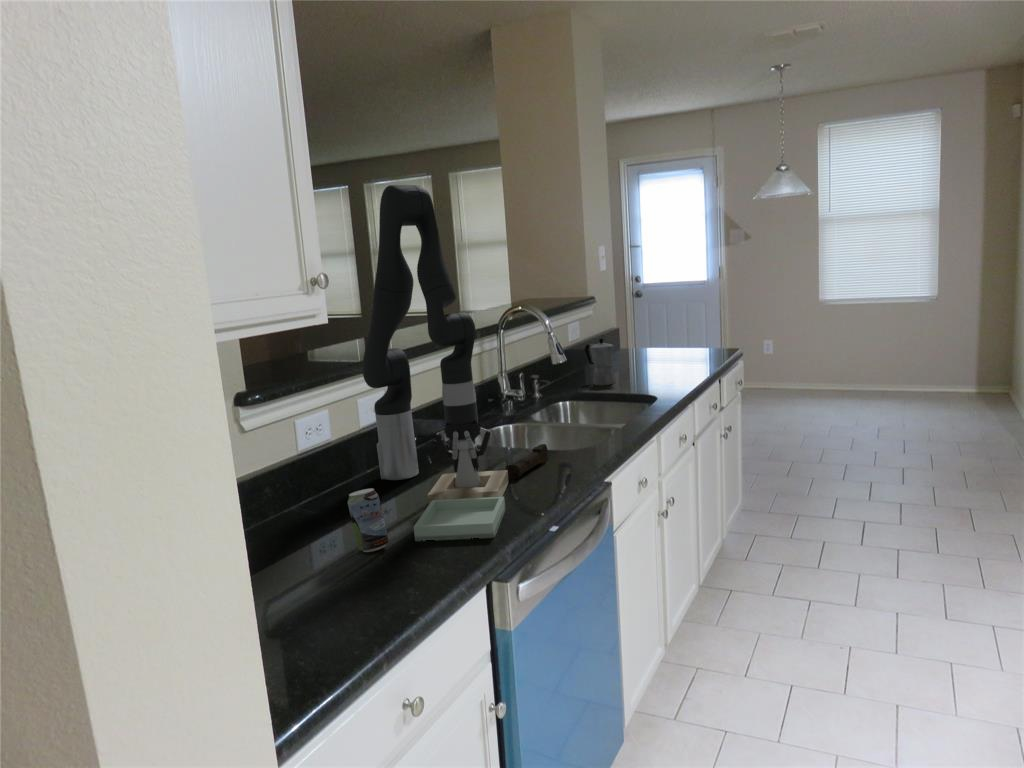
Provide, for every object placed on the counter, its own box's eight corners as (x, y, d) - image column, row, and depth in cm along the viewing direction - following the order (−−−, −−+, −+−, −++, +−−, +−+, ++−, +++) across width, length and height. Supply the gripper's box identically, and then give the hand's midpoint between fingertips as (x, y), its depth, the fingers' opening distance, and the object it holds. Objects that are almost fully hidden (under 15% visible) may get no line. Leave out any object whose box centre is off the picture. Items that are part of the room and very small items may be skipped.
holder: (429, 507, 172) (427, 494, 171) (444, 485, 187) (443, 473, 187) (499, 504, 170) (497, 491, 169) (508, 481, 185) (507, 470, 185)
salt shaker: (462, 498, 175) (456, 443, 172) (452, 491, 180) (446, 438, 177) (485, 492, 177) (480, 438, 175) (475, 486, 182) (469, 433, 180)
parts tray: (415, 541, 152) (413, 527, 152) (433, 513, 168) (432, 500, 167) (494, 537, 150) (492, 523, 149) (505, 509, 165) (504, 496, 165)
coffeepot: (625, 382, 301) (621, 336, 298) (610, 386, 294) (606, 340, 291) (595, 380, 312) (591, 336, 309) (579, 384, 305) (576, 339, 302)
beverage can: (375, 557, 146) (367, 497, 144) (347, 552, 150) (338, 494, 148) (396, 545, 151) (389, 487, 149) (369, 541, 155) (361, 484, 153)
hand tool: (519, 481, 186) (517, 462, 185) (505, 479, 188) (503, 461, 187) (557, 459, 202) (555, 442, 201) (544, 458, 204) (542, 441, 203)
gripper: (425, 406, 172) (434, 479, 175) (487, 402, 170) (494, 476, 173) (433, 399, 179) (441, 470, 182) (492, 395, 177) (499, 467, 180)
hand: (467, 472), depth 178 cm, fingers closed on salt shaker, 3 cm apart
